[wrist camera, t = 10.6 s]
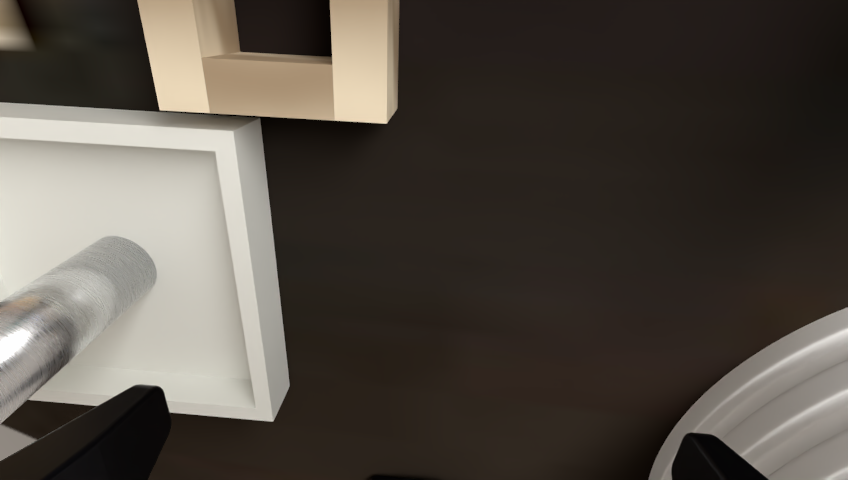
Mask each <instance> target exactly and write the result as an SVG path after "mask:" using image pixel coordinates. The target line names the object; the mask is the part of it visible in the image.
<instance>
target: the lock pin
mask: <svg viewBox="0 0 848 480" xmlns="http://www.w3.org/2000/svg"><path fill="white" fill-rule="evenodd" d="M156 279H157V270H156V267H155V264H154V262H153V260H152V258H151V257H150V255H149V254H148V253H147V252H146V251H145V250H144V249H143V248H142V247H141V246H139V245H138V244H136V243H135V242H133V241H131V240H129V239H126V238H122V237H117V236H108V237H103V238H101V239H99V240H97V241H96V242H94V243H93V244H91V245H89V246H88V247H86V248H85V249H83V250H81V251H80V252H78V253H77V254H75V255H74V256H72V257H70V258H69V259H67V260H66V261H64V262H62V263H61V264H59V265H58V266H56V267H54V268H53V269H51V270H50V271H48V272H47V273H45V274H43V275H42V276H40V277H39V278H37V279H35V280H34V281H32V282H31V283H29V284H27V285H26V286H24V287H23V288H21V289H20V290H18V291H16V292H15V293H13V294H12V295H10V296H8V297H7V298H5V299H4V300H2V301H0V424H1V423H2V422H3V421H4V420H5V419H6V418H8V417H9V416H10V415H11V414H12V413H13V412H14V411H15V410H16V409H18V408H19V407H20V406H21V405H22V404H23V403H24V402H25V401H26V400H28V399H29V398H30V397H31V396H32V395H33V394H34V393H35V392H36V391H38V390H39V389H40V388H41V387H42V386H43V385H44V384H45V383H47V382H48V381H49V380H50V379H51V378H52V377H53V376H54V375H55V374H57V373H58V372H59V371H60V370H61V369H62V368H63V367H64V366H65V365H67V364H68V363H69V362H70V361H71V360H72V359H73V358H74V357H76V356H77V355H78V354H79V353H80V352H81V351H82V350H83V349H84V348H86V347H87V346H88V345H89V344H90V343H91V342H92V341H93V340H94V339H96V338H97V337H98V336H99V335H100V334H101V333H102V332H103V331H105V330H106V329H107V328H108V327H109V326H110V325H111V324H112V323H113V322H115V321H116V320H117V319H118V318H119V317H120V316H121V315H122V314H123V313H125V312H126V311H127V310H128V309H129V308H130V307H131V306H132V305H134V304H135V303H136V302H137V301H138V300H139V299H140V298H141V297H142V296H144V295H145V294H146V293H147V292H148V291H149V290H150V289H151V288H152V287H153V286H154V284H155V282H156Z"/></svg>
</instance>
